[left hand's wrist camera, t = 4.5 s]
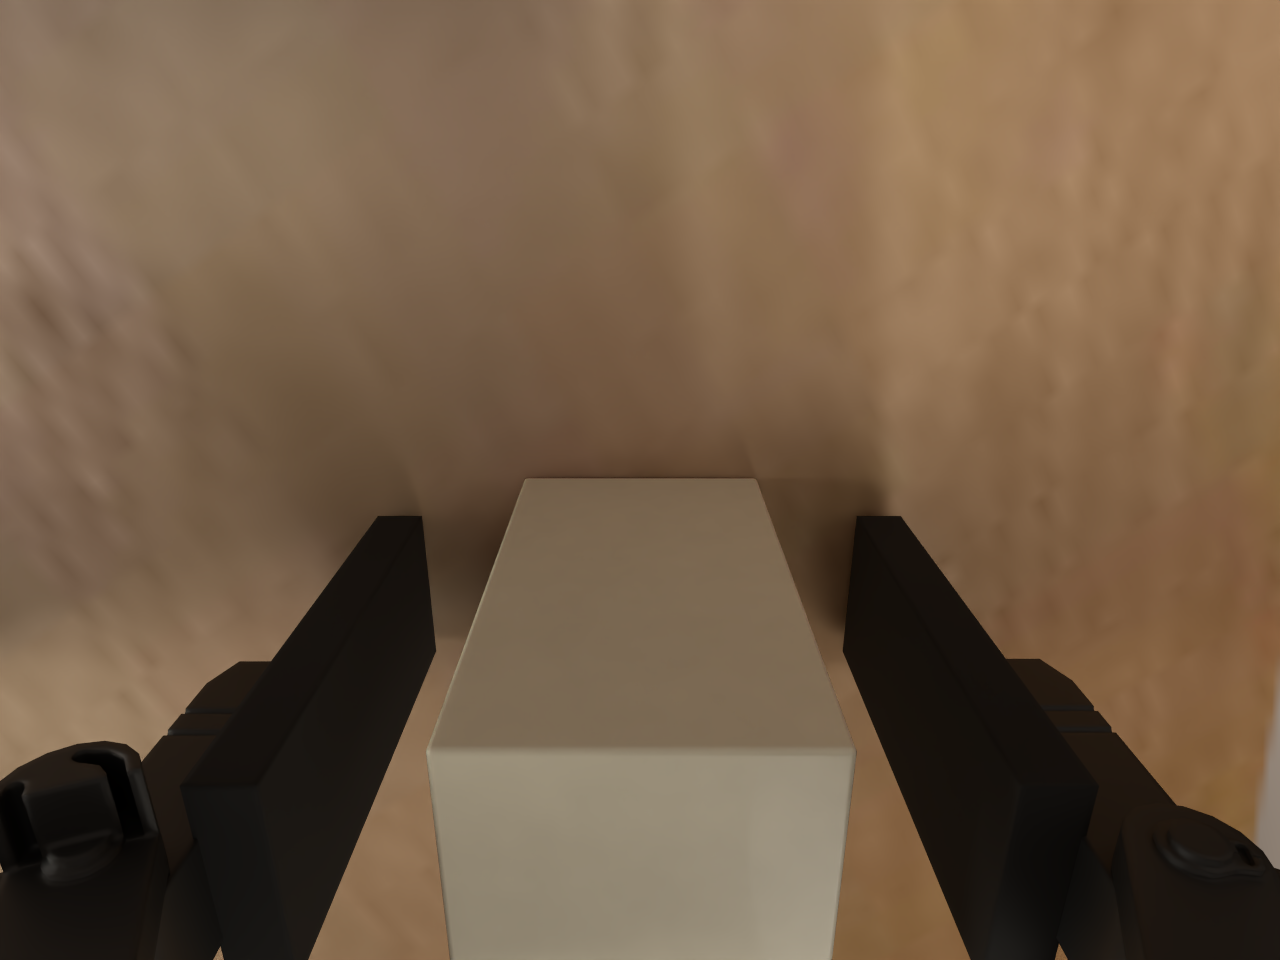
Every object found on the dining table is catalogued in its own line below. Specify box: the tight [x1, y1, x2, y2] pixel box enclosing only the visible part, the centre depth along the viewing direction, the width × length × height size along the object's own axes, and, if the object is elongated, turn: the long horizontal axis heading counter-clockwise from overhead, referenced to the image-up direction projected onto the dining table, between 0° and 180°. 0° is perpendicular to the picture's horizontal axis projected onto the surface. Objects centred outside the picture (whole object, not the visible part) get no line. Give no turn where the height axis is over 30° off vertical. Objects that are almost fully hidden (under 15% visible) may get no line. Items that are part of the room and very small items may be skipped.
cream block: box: [426, 478, 857, 960], centre depth 11 cm, size 4×4×7 cm
